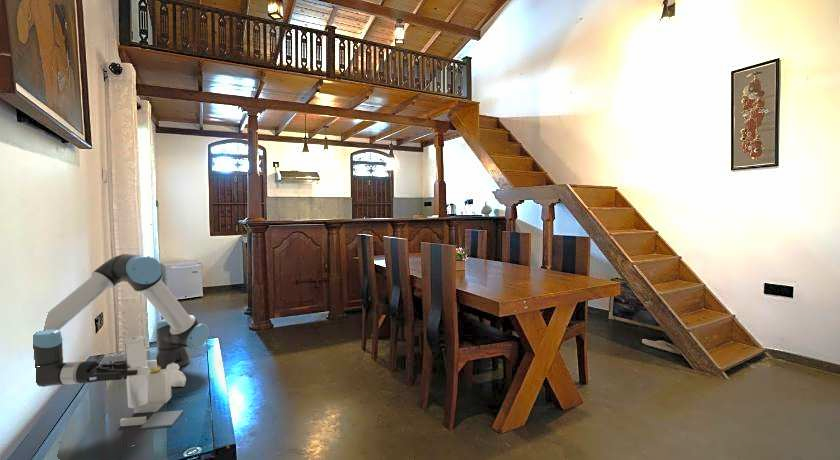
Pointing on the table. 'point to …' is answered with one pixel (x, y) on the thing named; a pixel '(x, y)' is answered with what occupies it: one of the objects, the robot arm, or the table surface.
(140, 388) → the air filter
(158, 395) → the housing
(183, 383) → the duck figurine
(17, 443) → the table surface
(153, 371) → the release button
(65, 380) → the robot arm
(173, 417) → the mat
